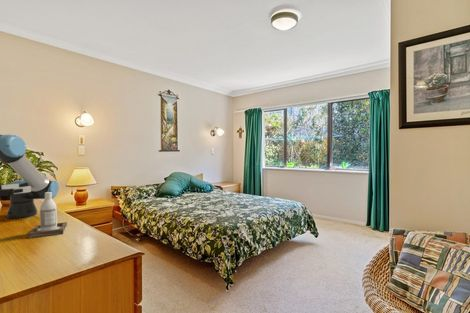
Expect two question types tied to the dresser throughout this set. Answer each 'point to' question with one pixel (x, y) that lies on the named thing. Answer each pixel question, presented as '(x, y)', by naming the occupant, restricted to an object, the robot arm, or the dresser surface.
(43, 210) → the bath foam
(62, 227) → the tray
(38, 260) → the dresser surface
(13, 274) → the dresser surface
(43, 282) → the dresser surface
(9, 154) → the robot arm
